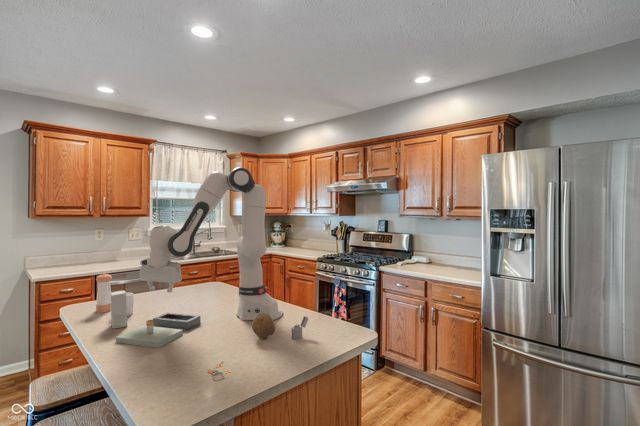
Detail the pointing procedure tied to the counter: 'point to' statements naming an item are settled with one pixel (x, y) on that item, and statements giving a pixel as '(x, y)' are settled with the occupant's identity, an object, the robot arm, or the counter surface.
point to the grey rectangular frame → (176, 321)
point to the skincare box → (118, 309)
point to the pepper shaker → (103, 293)
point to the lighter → (299, 329)
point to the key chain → (217, 372)
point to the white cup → (129, 303)
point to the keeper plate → (149, 335)
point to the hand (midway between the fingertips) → (160, 291)
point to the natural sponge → (263, 326)
